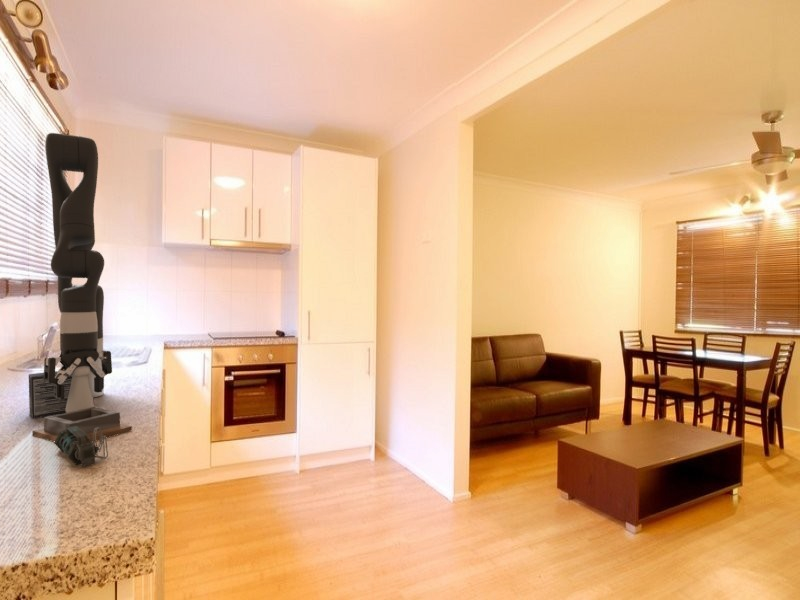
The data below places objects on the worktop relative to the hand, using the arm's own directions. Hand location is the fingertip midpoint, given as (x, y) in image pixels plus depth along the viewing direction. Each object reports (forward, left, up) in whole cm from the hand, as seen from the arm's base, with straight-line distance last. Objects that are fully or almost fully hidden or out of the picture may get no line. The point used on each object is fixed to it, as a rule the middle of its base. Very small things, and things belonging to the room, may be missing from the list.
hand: (79, 395), depth 109 cm
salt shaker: (0, 0, -6) cm, 6 cm away
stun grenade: (+28, -14, -6) cm, 32 cm away
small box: (-11, 0, -6) cm, 12 cm away
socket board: (+13, -6, -6) cm, 15 cm away
